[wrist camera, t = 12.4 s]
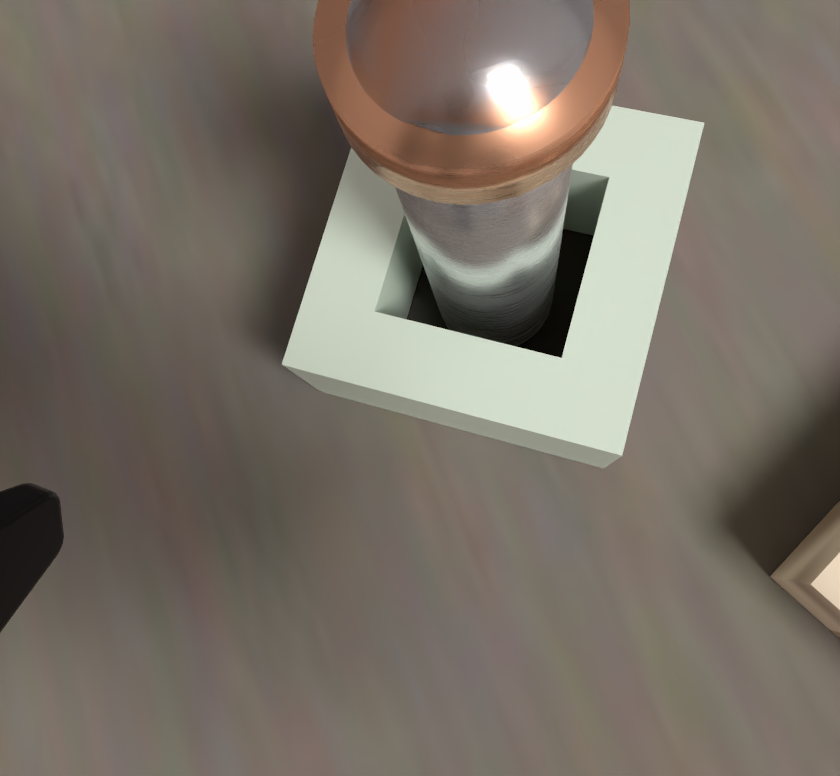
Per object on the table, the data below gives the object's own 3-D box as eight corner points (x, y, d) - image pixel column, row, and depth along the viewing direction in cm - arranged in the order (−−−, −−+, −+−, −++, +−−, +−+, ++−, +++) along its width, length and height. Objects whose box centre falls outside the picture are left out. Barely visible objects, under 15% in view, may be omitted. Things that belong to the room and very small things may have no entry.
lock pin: (485, 396, 23) (444, 232, 10) (393, 288, 24) (252, 18, 11) (600, 301, 23) (700, 23, 10) (503, 197, 24) (487, -170, 11)
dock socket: (603, 468, 22) (622, 455, 18) (320, 391, 24) (281, 364, 20) (673, 190, 23) (704, 122, 20) (400, 134, 25) (378, 61, 21)
